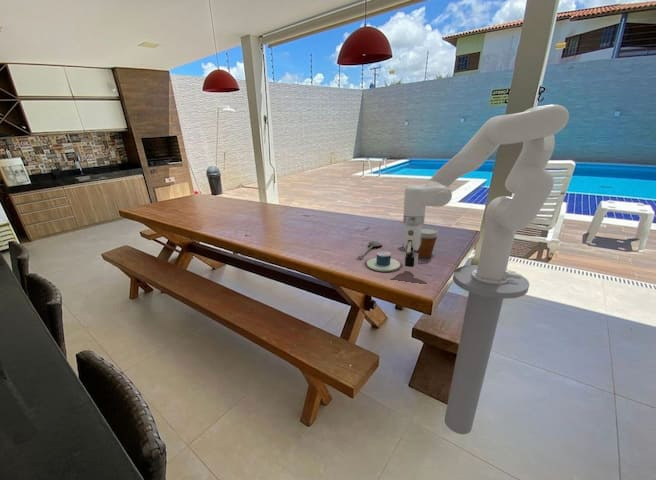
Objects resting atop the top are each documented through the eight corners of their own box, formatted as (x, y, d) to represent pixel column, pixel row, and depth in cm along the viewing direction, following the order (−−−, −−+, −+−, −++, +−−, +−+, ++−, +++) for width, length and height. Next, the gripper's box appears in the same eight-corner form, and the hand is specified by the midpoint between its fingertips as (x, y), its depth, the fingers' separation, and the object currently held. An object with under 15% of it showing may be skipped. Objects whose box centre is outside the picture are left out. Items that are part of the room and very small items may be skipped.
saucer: (403, 261, 135) (403, 259, 134) (396, 273, 124) (396, 271, 123) (371, 257, 141) (371, 255, 141) (362, 268, 130) (362, 266, 130)
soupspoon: (384, 246, 154) (371, 244, 157) (384, 240, 152) (372, 238, 156) (366, 260, 137) (352, 258, 141) (366, 253, 136) (352, 251, 140)
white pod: (418, 262, 124) (419, 252, 122) (416, 267, 119) (417, 257, 118) (405, 261, 126) (405, 251, 124) (402, 265, 122) (403, 255, 120)
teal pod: (391, 261, 133) (392, 252, 131) (388, 266, 129) (389, 256, 127) (378, 259, 136) (378, 250, 134) (374, 264, 131) (375, 255, 129)
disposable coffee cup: (426, 261, 134) (430, 235, 128) (408, 254, 141) (411, 230, 136) (439, 256, 138) (443, 230, 133) (421, 249, 145) (424, 225, 140)
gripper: (420, 226, 107) (417, 273, 114) (427, 214, 120) (423, 256, 128) (398, 224, 110) (396, 270, 118) (407, 213, 124) (405, 255, 131)
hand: (410, 263), depth 122 cm, fingers closed on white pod, 5 cm apart
